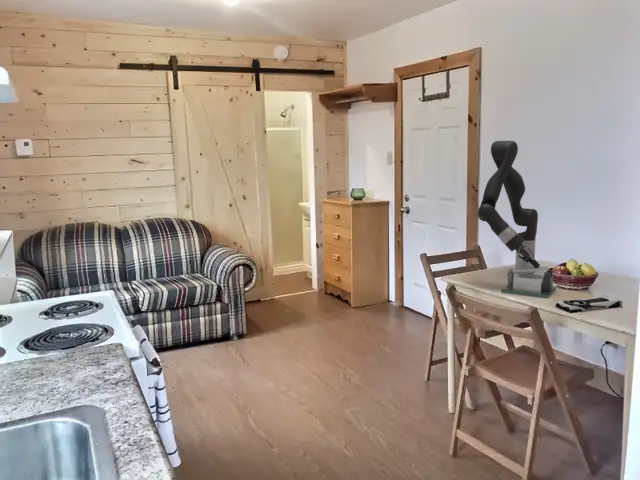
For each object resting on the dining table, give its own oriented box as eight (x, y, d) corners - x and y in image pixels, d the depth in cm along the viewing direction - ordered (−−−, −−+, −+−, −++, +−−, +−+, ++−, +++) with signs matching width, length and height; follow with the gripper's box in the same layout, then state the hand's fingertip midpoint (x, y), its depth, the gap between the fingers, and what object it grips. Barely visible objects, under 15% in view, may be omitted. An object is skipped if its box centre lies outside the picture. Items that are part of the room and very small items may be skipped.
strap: (508, 273, 249) (508, 270, 249) (510, 272, 251) (509, 268, 251) (547, 270, 239) (546, 266, 239) (548, 269, 241) (547, 265, 241)
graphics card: (622, 300, 219) (570, 306, 213) (622, 308, 220) (569, 314, 214) (604, 294, 229) (553, 299, 223) (603, 301, 230) (552, 307, 224)
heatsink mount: (501, 292, 246) (501, 270, 244) (510, 284, 259) (511, 264, 257) (547, 298, 235) (548, 275, 233) (555, 289, 248) (556, 268, 246)
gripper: (512, 235, 240) (541, 264, 235) (520, 231, 251) (548, 259, 246) (500, 246, 244) (528, 275, 239) (508, 241, 255) (535, 269, 250)
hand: (538, 267), depth 243 cm, fingers closed
